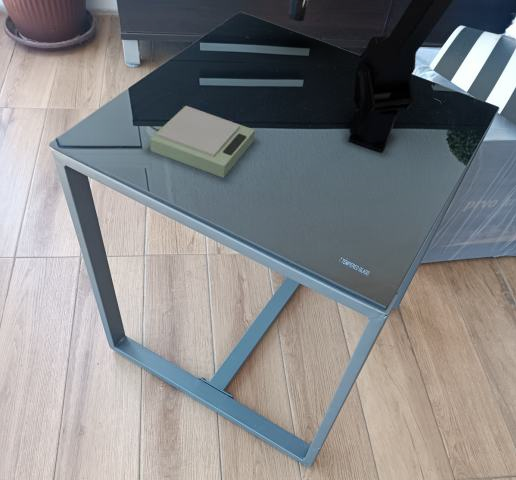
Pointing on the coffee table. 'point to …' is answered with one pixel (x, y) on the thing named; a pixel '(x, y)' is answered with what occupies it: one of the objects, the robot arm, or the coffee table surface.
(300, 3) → the milkshake
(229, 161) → the scale
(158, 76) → the coffee table surface
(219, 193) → the coffee table surface
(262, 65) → the coffee table surface
